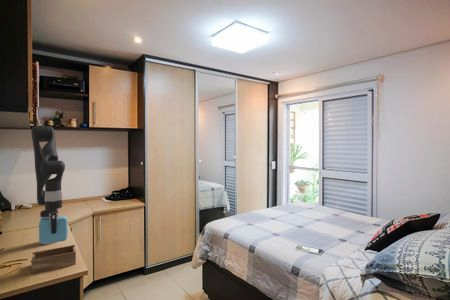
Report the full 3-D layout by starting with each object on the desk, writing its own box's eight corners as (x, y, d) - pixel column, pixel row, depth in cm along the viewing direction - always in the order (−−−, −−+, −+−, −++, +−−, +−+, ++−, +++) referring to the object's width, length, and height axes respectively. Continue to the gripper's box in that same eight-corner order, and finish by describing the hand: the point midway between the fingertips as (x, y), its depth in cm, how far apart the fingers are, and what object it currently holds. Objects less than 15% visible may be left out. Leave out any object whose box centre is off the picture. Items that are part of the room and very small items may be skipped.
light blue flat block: (67, 238, 142) (67, 215, 141) (66, 240, 138) (66, 217, 137) (40, 241, 137) (40, 218, 136) (39, 244, 132) (38, 220, 132)
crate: (32, 264, 137) (32, 252, 137) (74, 256, 147) (74, 244, 147) (31, 273, 127) (30, 260, 127) (76, 264, 137) (76, 252, 137)
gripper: (45, 197, 141) (45, 229, 141) (44, 202, 129) (44, 237, 129) (61, 196, 145) (62, 227, 145) (62, 200, 133) (62, 234, 133)
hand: (53, 231), depth 137 cm, fingers closed on light blue flat block, 5 cm apart
